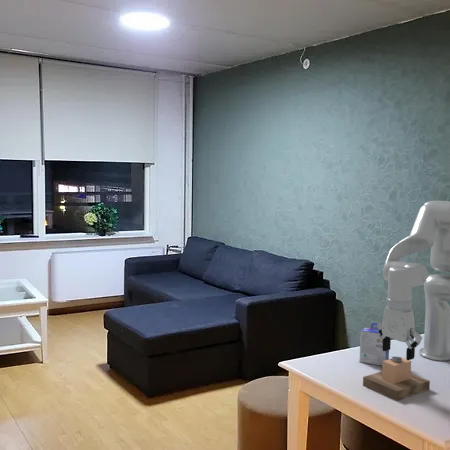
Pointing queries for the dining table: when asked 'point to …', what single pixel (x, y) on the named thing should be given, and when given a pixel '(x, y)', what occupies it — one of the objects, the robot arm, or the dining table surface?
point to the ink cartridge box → (372, 346)
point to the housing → (396, 370)
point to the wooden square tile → (396, 386)
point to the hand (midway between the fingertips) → (398, 354)
